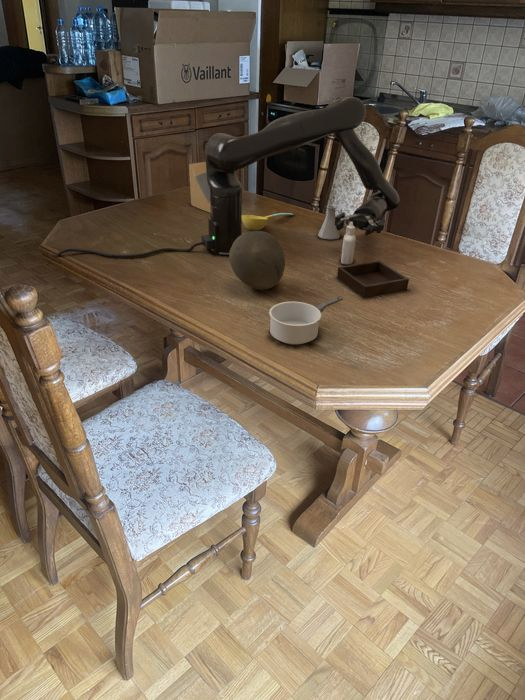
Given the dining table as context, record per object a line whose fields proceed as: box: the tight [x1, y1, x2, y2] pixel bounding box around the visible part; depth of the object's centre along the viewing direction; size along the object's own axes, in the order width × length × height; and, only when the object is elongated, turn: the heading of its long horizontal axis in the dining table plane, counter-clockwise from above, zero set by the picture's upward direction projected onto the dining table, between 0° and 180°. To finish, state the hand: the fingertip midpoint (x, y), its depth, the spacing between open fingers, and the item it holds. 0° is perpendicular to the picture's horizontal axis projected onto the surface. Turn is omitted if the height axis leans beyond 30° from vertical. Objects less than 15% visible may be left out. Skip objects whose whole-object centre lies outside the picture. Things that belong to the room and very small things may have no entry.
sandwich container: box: [188, 161, 210, 213], centre depth 197 cm, size 9×15×15 cm, turn 42°
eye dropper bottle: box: [340, 222, 357, 266], centre depth 156 cm, size 4×6×12 cm
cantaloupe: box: [228, 230, 286, 291], centre depth 138 cm, size 14×14×15 cm
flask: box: [317, 204, 341, 240], centre depth 175 cm, size 7×7×10 cm
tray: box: [336, 260, 410, 299], centre depth 145 cm, size 14×14×3 cm
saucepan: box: [268, 296, 344, 345], centre depth 122 cm, size 12×20×6 cm, turn 127°
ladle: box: [242, 212, 294, 231], centre depth 186 cm, size 9×26×6 cm, turn 142°
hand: (352, 229), depth 156 cm, fingers open, 8 cm apart
